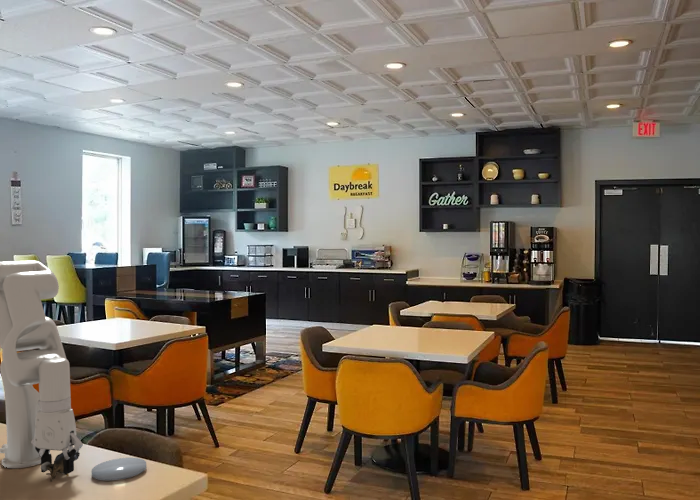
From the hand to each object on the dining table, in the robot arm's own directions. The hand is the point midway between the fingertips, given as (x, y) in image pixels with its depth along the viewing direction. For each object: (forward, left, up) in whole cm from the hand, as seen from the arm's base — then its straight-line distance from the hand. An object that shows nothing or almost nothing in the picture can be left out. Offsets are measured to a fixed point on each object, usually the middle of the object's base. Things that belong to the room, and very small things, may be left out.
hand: (57, 471), depth 166 cm
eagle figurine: (0, +2, -2) cm, 3 cm away
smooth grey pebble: (+14, +7, -2) cm, 16 cm away
